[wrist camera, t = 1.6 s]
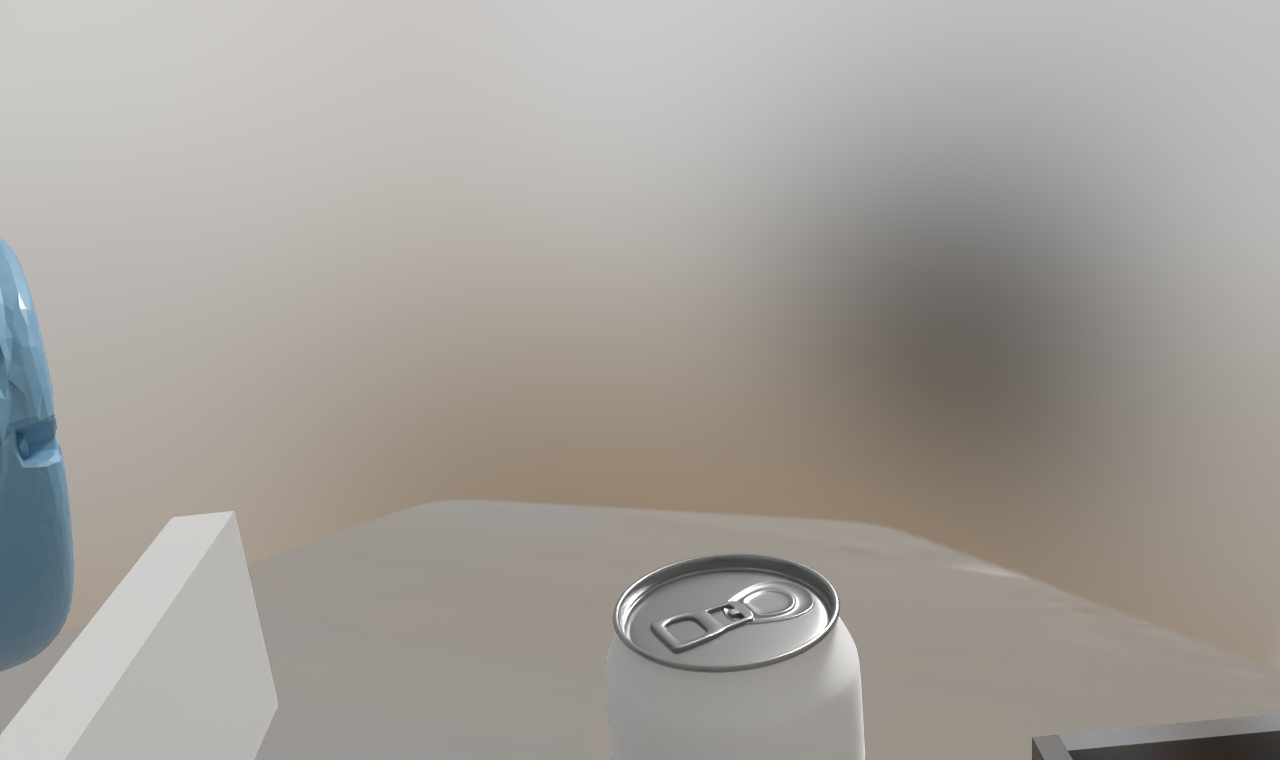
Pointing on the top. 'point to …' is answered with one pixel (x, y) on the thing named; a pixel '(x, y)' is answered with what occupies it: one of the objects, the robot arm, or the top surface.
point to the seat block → (1170, 742)
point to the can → (733, 665)
